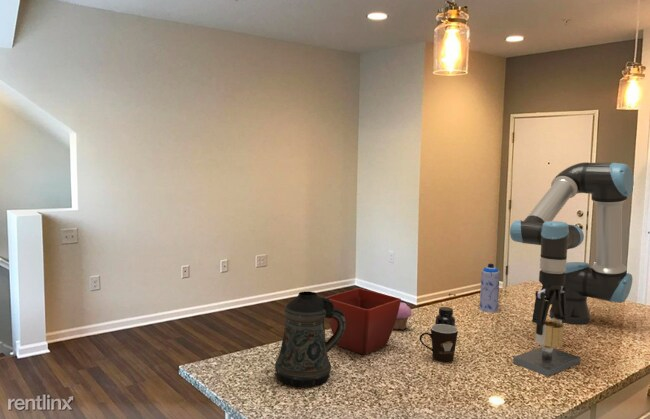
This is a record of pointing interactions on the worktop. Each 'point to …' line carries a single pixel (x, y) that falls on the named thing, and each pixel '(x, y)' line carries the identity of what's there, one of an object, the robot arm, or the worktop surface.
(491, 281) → the aerosol can
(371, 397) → the worktop surface
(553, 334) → the ring
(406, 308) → the cupcake
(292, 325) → the beer stein
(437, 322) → the supplement bottle
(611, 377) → the worktop surface
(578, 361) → the shaft stand
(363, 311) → the plant pot
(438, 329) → the coffee mug
